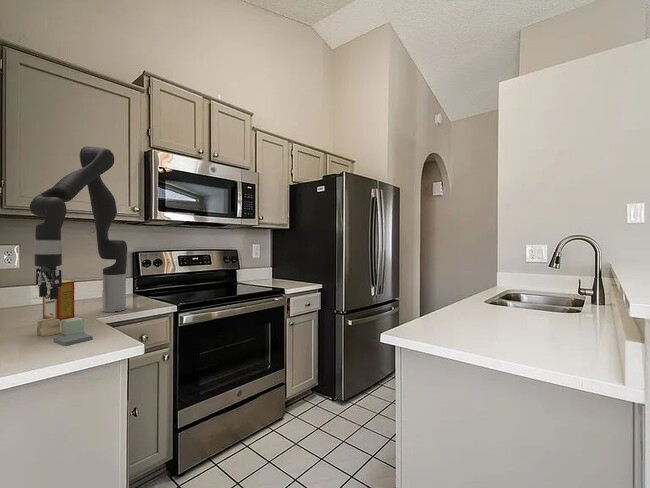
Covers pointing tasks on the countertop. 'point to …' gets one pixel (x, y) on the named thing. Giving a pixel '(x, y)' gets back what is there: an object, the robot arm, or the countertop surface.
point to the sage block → (72, 326)
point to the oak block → (48, 327)
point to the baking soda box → (60, 302)
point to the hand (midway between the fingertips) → (48, 297)
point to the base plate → (73, 338)
